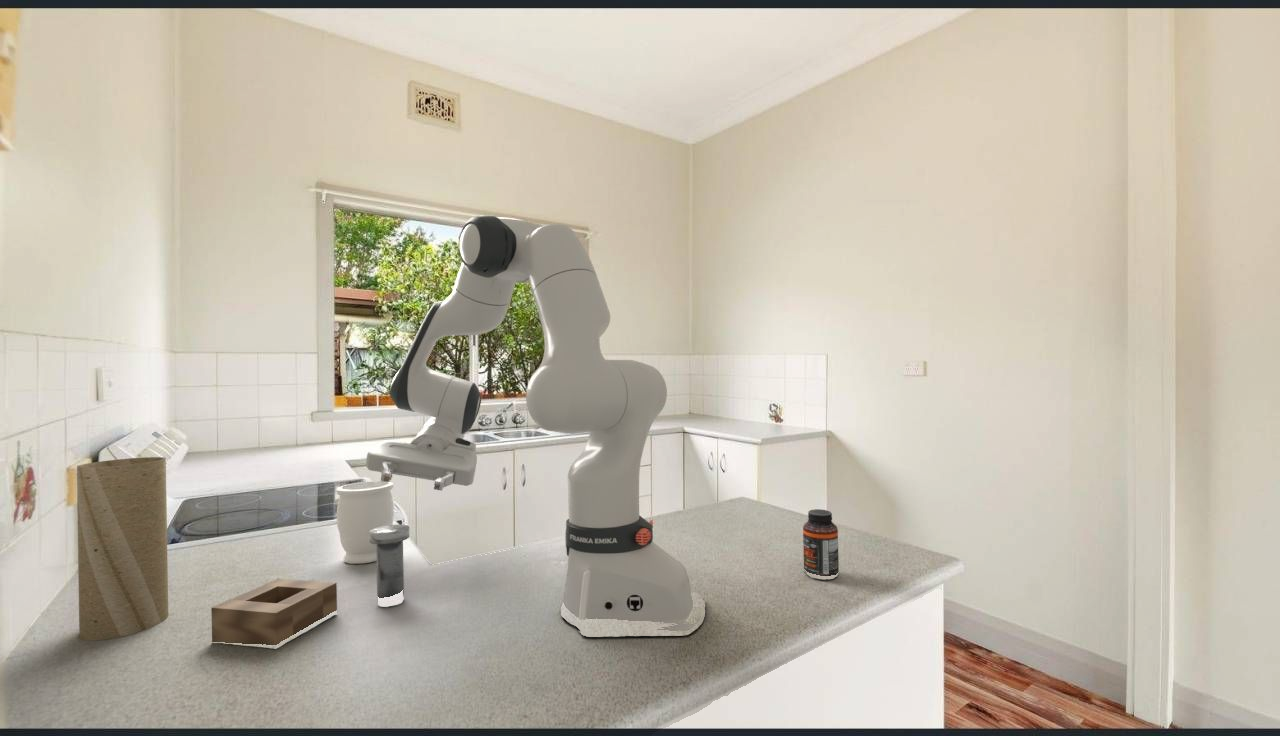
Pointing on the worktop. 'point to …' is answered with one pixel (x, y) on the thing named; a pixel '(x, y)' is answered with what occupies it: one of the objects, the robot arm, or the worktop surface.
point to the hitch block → (273, 611)
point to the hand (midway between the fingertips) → (411, 482)
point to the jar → (363, 517)
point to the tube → (122, 546)
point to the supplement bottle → (820, 544)
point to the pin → (389, 558)
